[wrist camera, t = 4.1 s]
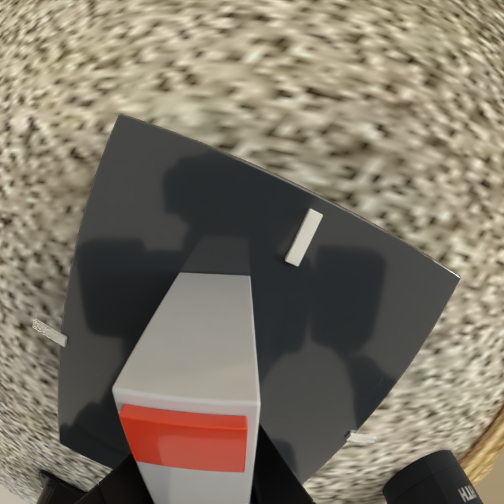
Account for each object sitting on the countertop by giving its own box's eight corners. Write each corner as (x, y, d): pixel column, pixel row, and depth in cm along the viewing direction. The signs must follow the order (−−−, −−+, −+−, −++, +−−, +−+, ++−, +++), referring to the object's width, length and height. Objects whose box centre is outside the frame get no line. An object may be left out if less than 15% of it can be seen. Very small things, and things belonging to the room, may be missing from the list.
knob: (240, 476, 10) (241, 571, 5) (196, 474, 10) (186, 568, 5) (250, 275, 7) (263, 417, 3) (178, 271, 7) (102, 400, 3)
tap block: (284, 471, 14) (290, 513, 11) (63, 396, 12) (38, 434, 9) (434, 263, 11) (481, 289, 8) (126, 119, 9) (83, 101, 6)
